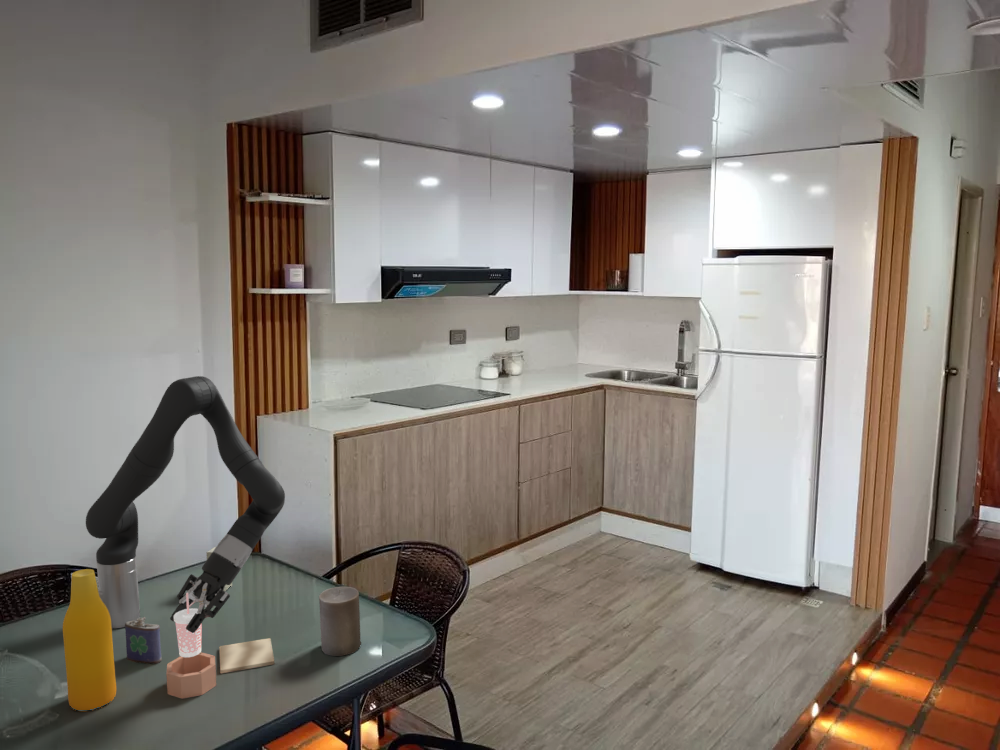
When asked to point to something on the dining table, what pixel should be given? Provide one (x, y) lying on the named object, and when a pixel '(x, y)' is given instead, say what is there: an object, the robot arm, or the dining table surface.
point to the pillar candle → (340, 621)
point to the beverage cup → (187, 632)
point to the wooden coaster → (246, 655)
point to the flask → (143, 642)
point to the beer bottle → (88, 645)
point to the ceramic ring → (191, 675)
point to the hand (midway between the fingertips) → (181, 626)
